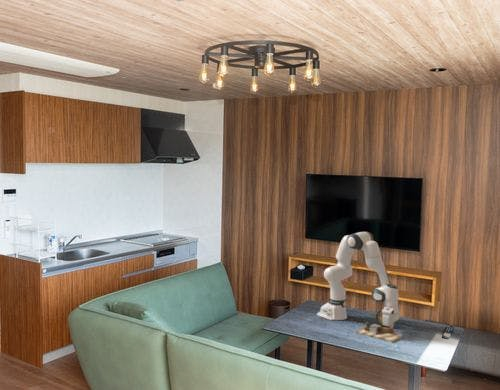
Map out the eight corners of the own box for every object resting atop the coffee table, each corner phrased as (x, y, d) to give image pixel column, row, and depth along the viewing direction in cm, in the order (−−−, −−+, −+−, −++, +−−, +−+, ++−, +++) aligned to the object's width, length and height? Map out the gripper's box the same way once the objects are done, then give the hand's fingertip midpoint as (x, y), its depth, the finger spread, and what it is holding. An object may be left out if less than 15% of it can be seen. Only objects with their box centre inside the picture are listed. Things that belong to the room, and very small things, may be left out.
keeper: (369, 332, 319) (369, 326, 319) (373, 330, 324) (373, 323, 324) (376, 334, 316) (376, 327, 315) (380, 331, 321) (380, 325, 320)
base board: (356, 333, 321) (356, 331, 321) (367, 327, 333) (367, 325, 333) (393, 342, 304) (393, 340, 304) (403, 336, 316) (403, 334, 315)
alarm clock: (375, 326, 335) (376, 303, 334) (377, 323, 340) (378, 301, 339) (391, 328, 330) (392, 305, 329) (393, 326, 335) (393, 303, 334)
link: (363, 329, 323) (363, 322, 323) (364, 327, 327) (364, 320, 327) (392, 334, 316) (393, 326, 315) (393, 331, 320) (393, 324, 319)
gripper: (393, 304, 330) (393, 324, 331) (380, 311, 314) (380, 332, 315) (402, 306, 326) (401, 326, 327) (389, 313, 310) (389, 334, 311)
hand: (391, 329), depth 321 cm, fingers closed
